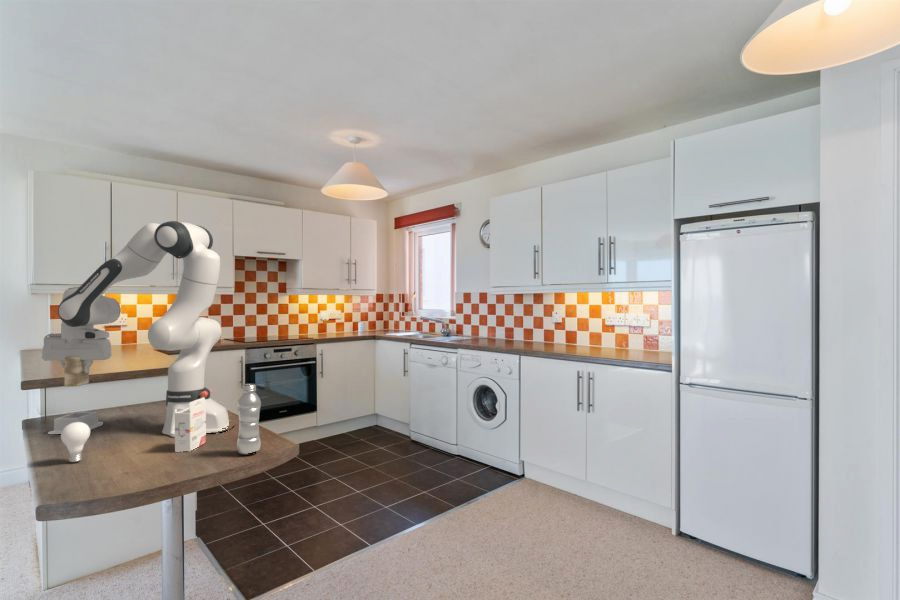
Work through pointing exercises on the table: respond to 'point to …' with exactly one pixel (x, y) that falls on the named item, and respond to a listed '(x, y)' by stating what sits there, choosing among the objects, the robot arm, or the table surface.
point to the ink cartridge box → (190, 426)
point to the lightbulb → (75, 439)
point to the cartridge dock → (84, 417)
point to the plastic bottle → (248, 420)
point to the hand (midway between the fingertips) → (76, 373)
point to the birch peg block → (75, 372)
